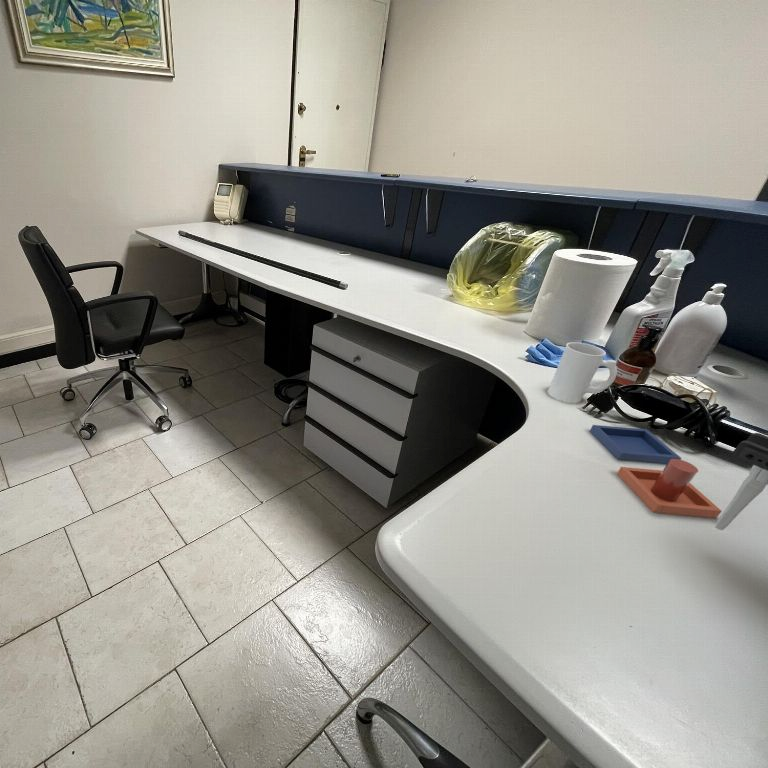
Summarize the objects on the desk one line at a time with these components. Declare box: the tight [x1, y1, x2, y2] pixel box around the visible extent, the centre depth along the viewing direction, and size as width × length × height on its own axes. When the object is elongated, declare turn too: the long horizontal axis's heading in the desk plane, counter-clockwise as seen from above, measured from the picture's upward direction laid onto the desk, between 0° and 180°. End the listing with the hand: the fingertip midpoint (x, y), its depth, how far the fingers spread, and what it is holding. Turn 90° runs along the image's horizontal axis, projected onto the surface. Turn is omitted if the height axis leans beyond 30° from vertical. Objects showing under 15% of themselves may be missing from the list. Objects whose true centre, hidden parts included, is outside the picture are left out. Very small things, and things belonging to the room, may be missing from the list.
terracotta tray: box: [616, 466, 723, 519], centre depth 64 cm, size 9×9×2 cm
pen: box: [714, 464, 768, 531], centre depth 50 cm, size 2×3×14 cm
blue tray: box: [589, 424, 682, 465], centre depth 75 cm, size 10×9×2 cm
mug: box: [547, 341, 618, 404], centre depth 88 cm, size 10×7×12 cm, turn 49°
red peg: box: [651, 459, 699, 502], centre depth 63 cm, size 3×3×6 cm
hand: (743, 443), depth 50 cm, fingers closed on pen, 2 cm apart
